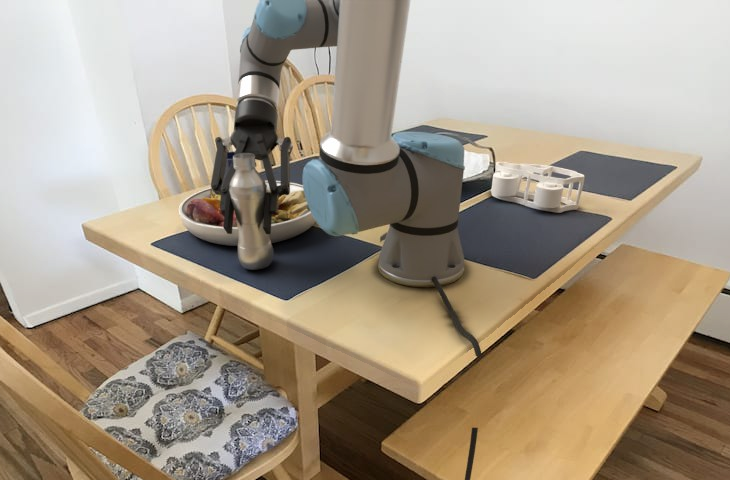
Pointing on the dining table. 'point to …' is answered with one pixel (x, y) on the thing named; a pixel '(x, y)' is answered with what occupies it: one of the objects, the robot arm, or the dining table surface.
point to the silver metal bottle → (250, 213)
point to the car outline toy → (546, 189)
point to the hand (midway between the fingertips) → (247, 230)
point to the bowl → (208, 220)
